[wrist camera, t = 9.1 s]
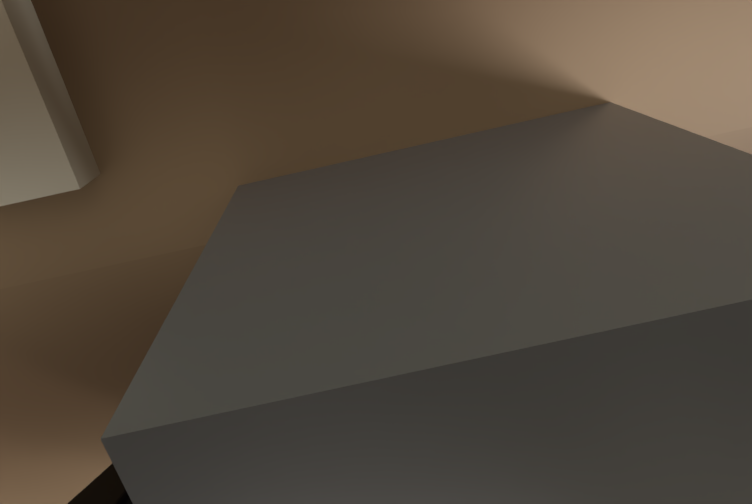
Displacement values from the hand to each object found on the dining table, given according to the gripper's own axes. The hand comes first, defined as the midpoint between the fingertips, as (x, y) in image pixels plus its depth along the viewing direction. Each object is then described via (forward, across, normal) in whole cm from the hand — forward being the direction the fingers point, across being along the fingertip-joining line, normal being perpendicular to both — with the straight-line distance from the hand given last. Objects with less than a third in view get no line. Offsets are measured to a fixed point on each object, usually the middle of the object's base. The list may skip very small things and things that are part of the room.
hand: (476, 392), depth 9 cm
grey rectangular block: (+5, 0, 0) cm, 5 cm away
